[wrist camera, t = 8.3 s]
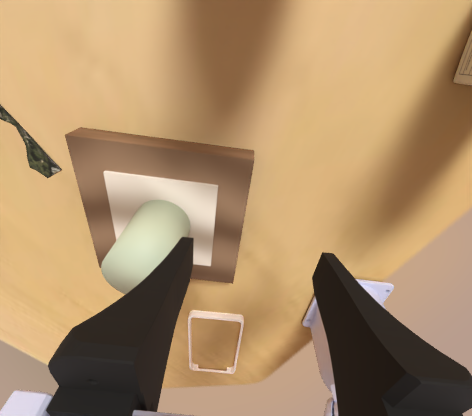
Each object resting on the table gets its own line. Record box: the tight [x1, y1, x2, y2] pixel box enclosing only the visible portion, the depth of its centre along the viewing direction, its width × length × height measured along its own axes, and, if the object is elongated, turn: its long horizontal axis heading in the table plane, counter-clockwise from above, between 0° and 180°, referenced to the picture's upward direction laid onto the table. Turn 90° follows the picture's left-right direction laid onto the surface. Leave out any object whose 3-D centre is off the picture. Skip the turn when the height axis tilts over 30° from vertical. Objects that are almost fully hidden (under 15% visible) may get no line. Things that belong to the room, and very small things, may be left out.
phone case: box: [188, 310, 244, 374], centre depth 36 cm, size 7×1×15 cm
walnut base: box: [65, 128, 254, 283], centre depth 23 cm, size 14×14×2 cm
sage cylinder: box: [101, 200, 190, 294], centre depth 19 cm, size 5×5×6 cm
